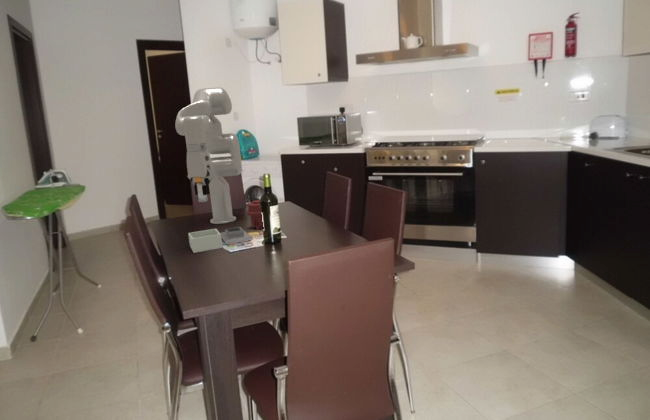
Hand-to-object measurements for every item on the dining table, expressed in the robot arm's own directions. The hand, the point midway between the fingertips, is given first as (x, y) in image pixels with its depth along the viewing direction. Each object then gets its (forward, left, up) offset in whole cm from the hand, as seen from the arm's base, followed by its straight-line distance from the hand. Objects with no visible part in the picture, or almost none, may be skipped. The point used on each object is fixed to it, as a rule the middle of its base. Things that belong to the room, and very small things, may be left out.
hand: (202, 194), depth 200 cm
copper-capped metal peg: (0, 0, -3) cm, 3 cm away
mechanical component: (-18, +26, -22) cm, 38 cm away
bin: (0, -1, -22) cm, 22 cm away
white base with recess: (-5, +12, -22) cm, 25 cm away
